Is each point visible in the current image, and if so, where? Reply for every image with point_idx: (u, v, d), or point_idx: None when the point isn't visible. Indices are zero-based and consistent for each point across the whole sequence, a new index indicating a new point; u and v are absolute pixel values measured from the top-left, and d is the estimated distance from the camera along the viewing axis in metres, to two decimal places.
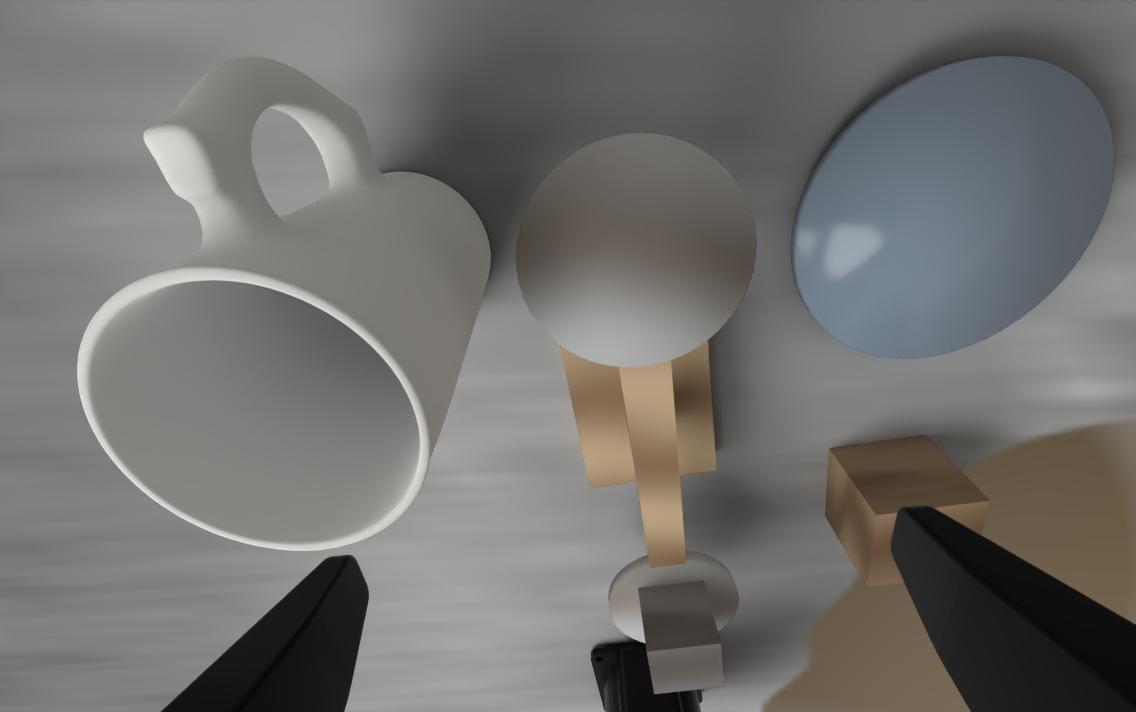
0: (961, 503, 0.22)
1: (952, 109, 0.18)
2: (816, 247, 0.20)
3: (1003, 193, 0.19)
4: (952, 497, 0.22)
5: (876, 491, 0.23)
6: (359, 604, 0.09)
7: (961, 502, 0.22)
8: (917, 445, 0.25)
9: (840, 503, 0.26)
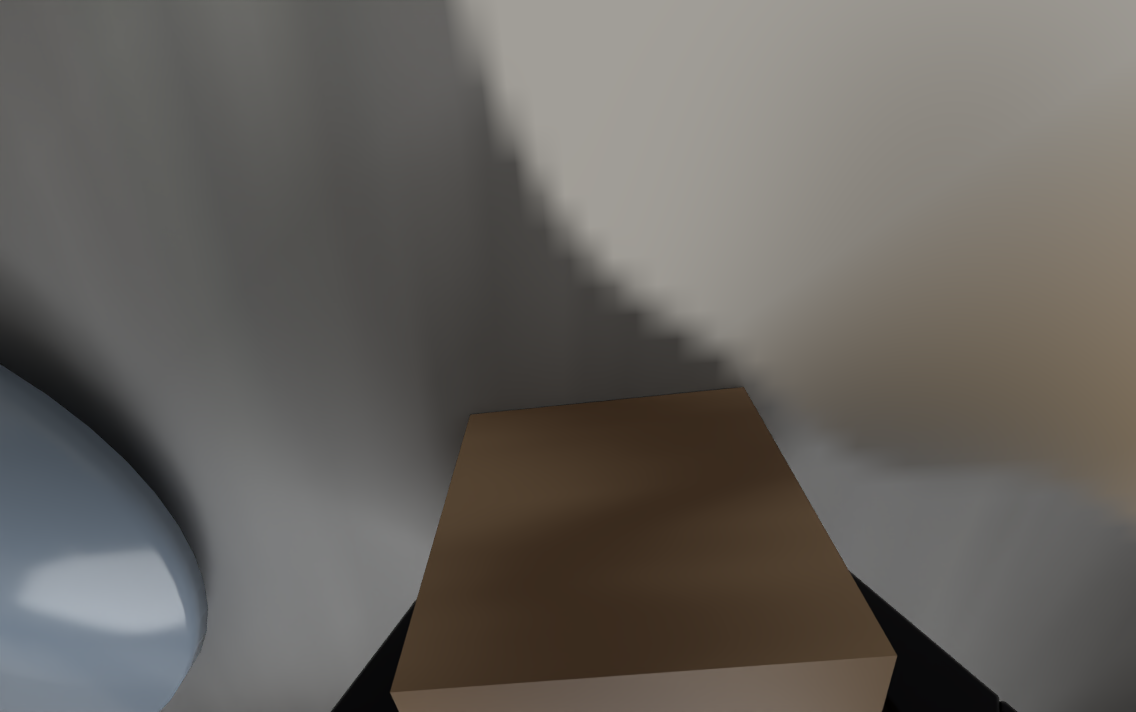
0: None
1: None
2: None
3: None
4: None
5: None
6: None
7: None
8: None
9: None
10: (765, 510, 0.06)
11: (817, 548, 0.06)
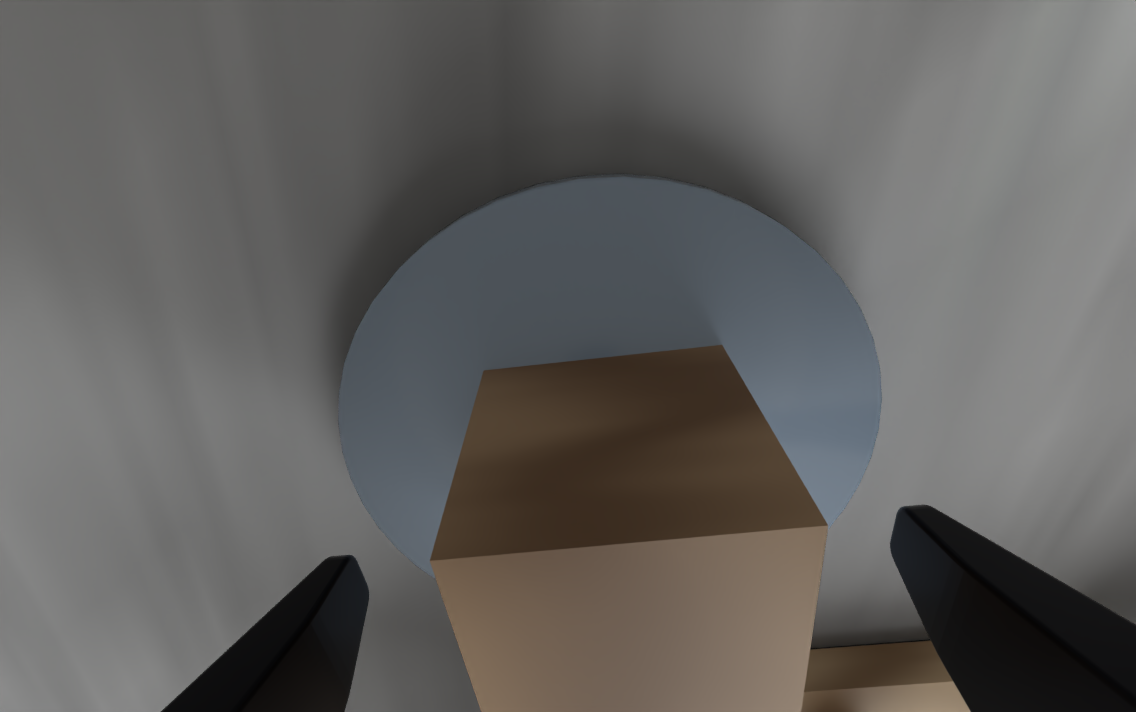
0: (455, 613, 0.07)
1: (420, 489, 0.11)
2: None
3: None
4: None
5: None
6: (359, 604, 0.09)
7: (451, 615, 0.07)
8: None
9: None
10: (733, 433, 0.07)
11: (773, 458, 0.07)
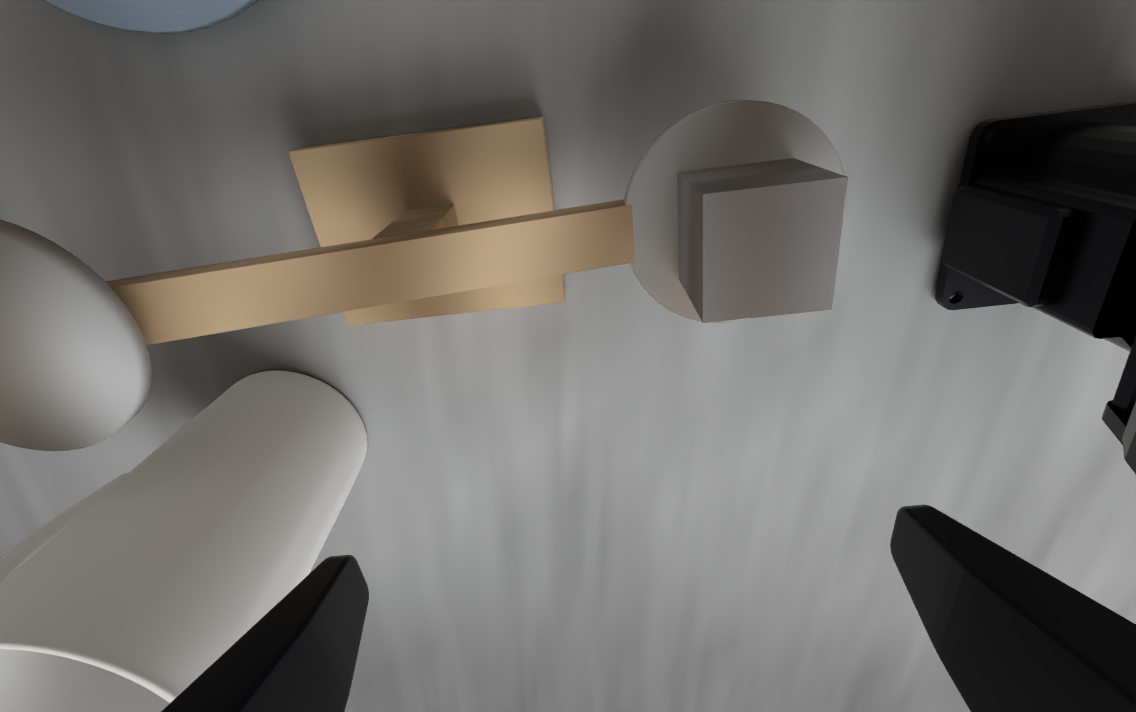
0: None
1: None
2: (158, 0, 0.15)
3: None
4: None
5: None
6: (359, 604, 0.09)
7: None
8: None
9: None
10: None
11: None
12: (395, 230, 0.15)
